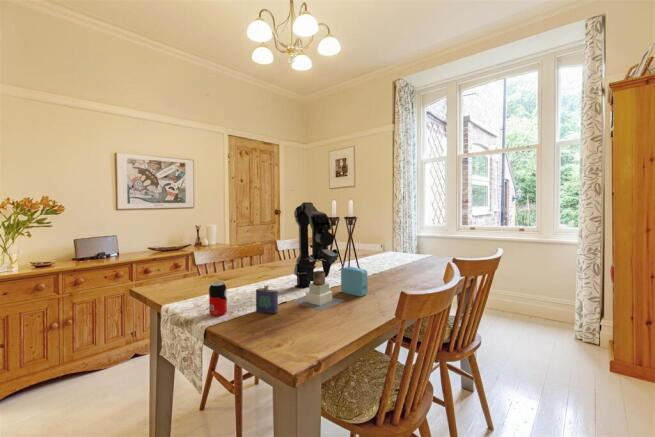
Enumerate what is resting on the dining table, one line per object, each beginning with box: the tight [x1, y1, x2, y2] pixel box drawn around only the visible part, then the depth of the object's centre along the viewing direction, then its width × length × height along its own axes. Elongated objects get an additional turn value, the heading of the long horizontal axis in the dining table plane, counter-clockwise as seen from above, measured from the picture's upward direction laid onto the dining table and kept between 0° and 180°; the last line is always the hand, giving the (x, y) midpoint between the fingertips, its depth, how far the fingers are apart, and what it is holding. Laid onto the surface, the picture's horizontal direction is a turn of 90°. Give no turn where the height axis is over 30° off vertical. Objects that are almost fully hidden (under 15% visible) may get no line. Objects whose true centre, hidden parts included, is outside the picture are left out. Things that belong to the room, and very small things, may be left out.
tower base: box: [305, 290, 333, 306], centre depth 131 cm, size 8×8×4 cm
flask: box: [255, 284, 279, 315], centre depth 119 cm, size 9×3×11 cm, turn 74°
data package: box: [340, 266, 368, 297], centre depth 142 cm, size 12×4×12 cm, turn 50°
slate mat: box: [293, 296, 346, 312], centre depth 131 cm, size 16×16×1 cm
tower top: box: [308, 282, 330, 295], centre depth 131 cm, size 6×6×4 cm
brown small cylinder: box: [312, 270, 326, 285], centre depth 130 cm, size 5×5×5 cm
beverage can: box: [208, 281, 228, 317], centre depth 117 cm, size 6×6×12 cm
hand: (319, 279), depth 130 cm, fingers open, 9 cm apart
